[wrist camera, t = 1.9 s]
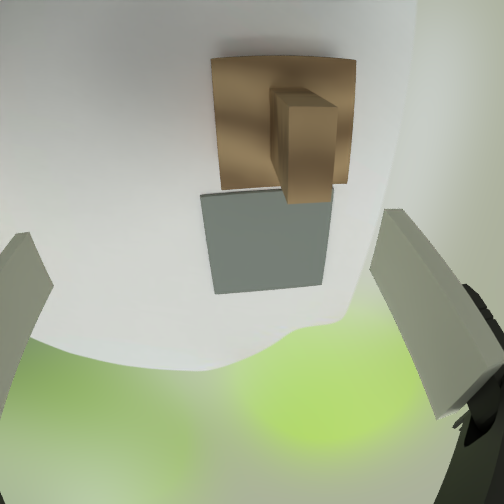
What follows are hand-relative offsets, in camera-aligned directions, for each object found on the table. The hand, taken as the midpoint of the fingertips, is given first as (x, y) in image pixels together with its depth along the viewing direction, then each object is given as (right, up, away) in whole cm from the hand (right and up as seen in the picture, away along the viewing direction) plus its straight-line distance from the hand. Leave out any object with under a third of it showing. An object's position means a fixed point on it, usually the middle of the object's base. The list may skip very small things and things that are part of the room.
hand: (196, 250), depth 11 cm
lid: (+5, +12, +17) cm, 22 cm away
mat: (+4, +1, +34) cm, 34 cm away
